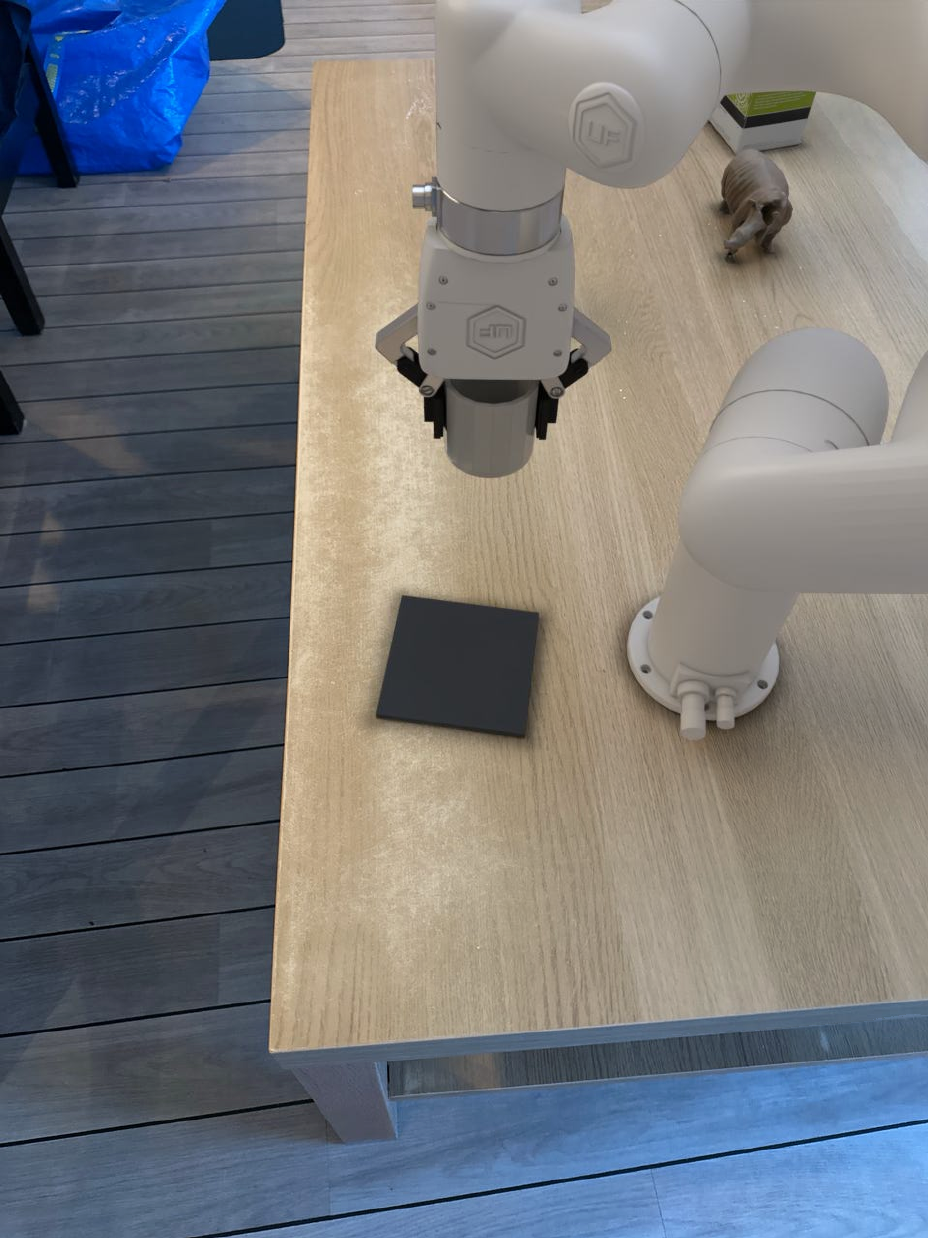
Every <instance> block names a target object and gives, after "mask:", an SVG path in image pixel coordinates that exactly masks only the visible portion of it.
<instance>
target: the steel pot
mask: <svg viewBox="0 0 928 1238" xmlns="http://www.w3.org/2000/svg"><path fill="white" fill-rule="evenodd" d="M539 387H540V380H483V379H445V380H444V381H443V408H444V432H443V444H444V445H443V446H444V452H445V455H446V457H447V459H448V460H449V462H450V463H451V464H452V465H453V466H454V467H456V469H458V470H459V471H460V472H463V473H465V474H467V475H469V476H473V477H476V478H483V479H499V478H503V477H507V476H510V475H513V474H515V473H516V472H519V471H520V470H521V469H523V468H524V467H525V466H526V465H527V464H528V462H529V461H530V459H531V457H532V455H533V452H534V445H535V439H536V417H537V407H538V397H539Z"/></svg>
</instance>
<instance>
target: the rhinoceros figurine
mask: <svg viewBox="0 0 928 1238" xmlns="http://www.w3.org/2000/svg"><path fill="white" fill-rule="evenodd" d="M720 183H721V185H720V186H721V193H720V194H721V198H722V200H721V201H720V203H719V204H718V206H717V211H718V212H719V213H721V214H726V213H729V214H732V217H731V221H730V224H731V225H732V226H731V227H730V228H731V229H730V234H729V239H727V238H724V239H723V246H724V247H723V249H724V250H727V253H726V254H725V256H723V257H722V259H724V260H725V261H726V262H727V263H728V264H736V263H737V260H736V259H735V257H734V255H735V254H737V252H738V250H739V249H741V248H743V247H745V246H746V245H747V243H748V242H749V241H750V240H751V239H754V241H755V244H756V245H757V246H761V247H763V248H765V249H763V252H765V253H772V254H774V253H775V247H774V245H773V240H774V239H775V237H776V236H777V234H779V233H780V232H781V231H782V228H783V227H784V226H786V225H787V224H788V223H789V222H790V220H791V218H792V215H793V211H794V208H793V205H792V203H791V202H790V199H789V195H790V191H789V190H790V185H789V183H788V181H787V178H786V176H785V174H784V172H783V170H782V169H781V168H780V167H779V166H778V164H777V163H775V162H774V161H773V160H772V159H771V158H770V157H768V156H767V155H766V154H765V153H763V152H761V151H758V150H756V149H750V148H749V149H746V150H744V151H742V152H740V153H739V154H735V155H734V156H733V157H732V158H731V160H729V162H728V164H727V165H726V166H725V168H724V170H723V174H722V177H721V181H720Z"/></svg>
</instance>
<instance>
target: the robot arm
mask: <svg viewBox="0 0 928 1238" xmlns="http://www.w3.org/2000/svg"><path fill="white" fill-rule="evenodd" d="M434 79H435V80H434V92H435V94H434V95H435V98H434V100H435V157H436V159H435V161H436V162H435V163H436V164H435V165H436V176H431V181H426V182H424V184H412V187H411V189H412V192H411V195H412V196H411V197H412V200H411V201H412V209H413V210H424V211H425V212H431V214H430V215H429V217H428V219H427V223H426V226H425V232H424V236H423V240H422V245H421V251H420V260H419V270H418V271H419V273H418V282H417V283H418V284H417V285H418V286H417V287H418V288H417V303H416V304H414V305H413V306H411V307H410V308H409V309H407V310H406V311H405V312H403V313H402V314H401V315H399V316H398V317H396V318H395V319H393V320H392V321H390V323H388V324H387V325H385V326H384V327H382V328H381V329H380V330H378V331H377V332H376V334H375V345H374V346H375V347H374V348H375V350H376V351H377V352H378V353H379V354H380V355H381V356H382V357H384V358H385V359H386V360H387V361H388V363H390V364H392V365H394V367H396V370H397V372H398V373H399V374H400V375H401V376H402V377H404V378H405V379H407V380H408V381H409V382H410V383H412V384H413V385H415V386H416V387H417V388H418V393H419V394H420V396H422V397H423V419H424V420H423V422H424V423H433V439H434V440H441V439H442V438H444V408H443V381H444V380H445V379H483V380H540V387H539V397H538V407H537V417H536V429H535V439H538V440H539V441H546V440H547V436H548V435H547V434H548V425H549V424H557V419H558V410H559V403H560V398H563V397H564V396H565V394H566V389H568V388H569V387H570V386H572V385H573V384H575V383H577V381H579V380H580V379H582V378H583V377H585V376H587V374H588V372H589V369H590V368H591V367H595V366H596V365H597V364H598V363H600V362H601V361H602V360H603V359H604V358H606V357H607V356H608V355H609V354H610V353H611V352H612V342H611V341H612V340H611V336H610V334H609V333H608V332H607V331H605V330H604V329H603V328H602V327H600V326H599V325H598V324H597V323H596V322H594V321H593V320H591V319H590V318H589V317H588V316H586V315H585V314H584V313H582V311H580V310H579V309H578V308H576V307H575V289H576V260H575V246H574V245H575V244H574V237H573V232H572V229H571V225H570V222H569V220H568V218H567V217H566V215H565V214H564V213H563V208H564V197H565V188H566V177H567V169H568V170H570V171H572V172H574V173H576V174H577V175H579V176H582V177H584V178H585V179H588V180H589V181H592V182H595V183H597V184H600V185H603V186H606V187H610V188H614V189H621V190H634V189H639V188H645V187H648V186H650V185H653V184H655V183H656V182H658V181H660V180H661V179H663V178H664V177H666V176H668V175H669V174H670V173H671V172H672V171H673V170H674V169H675V168H676V167H677V165H678V164H680V162H681V161H682V160H683V159H684V157H685V156H686V154H687V153H688V152H689V150H690V149H691V147H692V145H693V144H694V142H695V141H696V139H697V138H698V136H699V135H700V133H701V132H702V130H703V129H704V127H705V125H706V124H707V123H708V121H709V120H708V119H709V118H710V117H711V115H712V114H713V112H714V111H715V109H716V108H717V106H718V105H719V103H720V102H721V100H722V99H723V97H724V96H725V95H731V94H741V93H757V92H774V91H813V92H816V93H825V94H829V95H835V96H841V97H843V98H847V99H851V100H854V101H856V102H858V103H860V104H862V105H865V106H866V107H868V108H869V109H871V110H873V111H875V112H876V113H877V114H879V116H881V118H883V119H884V120H885V121H886V122H887V123H888V125H889V126H890V127H891V128H892V129H893V131H894V132H895V133H896V134H897V135H898V136H899V138H900V139H901V140H902V141H903V142H904V144H905V145H906V146H907V147H908V148H909V150H911V152H912V153H913V154H915V155H916V157H917V158H918V159H920V161H922V162H924V163H925V164H927V165H928V0H611V2H610V3H609V4H606V5H604V6H602V7H600V8H597V9H594V10H591V11H588V12H584V13H583V3H582V0H435V3H434ZM416 336H417V351H416V350H415V349H414V348H412V347H411V346H407V345H406V343H407V342H409V341H410V340H411V339H413V338H414V337H416ZM572 339H573V340H575V341H576V342H578V343H579V344H580V346H579V348H574V349H573V350H571V347H572ZM889 408H890V393H889V385H888V381H887V377H886V374H885V371H884V369H883V366H882V364H881V363H880V361H879V359H878V358H877V356H876V355H875V354H874V353H873V351H872V350H871V349H870V348H869V347H868V346H867V345H866V344H865V343H863V342H862V341H861V340H860V339H858V338H857V337H855V336H853V335H852V334H850V333H848V332H845V331H842V330H840V329H836V328H831V327H825V326H806V327H800V328H795V329H792V330H788V331H785V332H783V333H781V334H779V335H776V336H775V337H773V338H772V339H770V340H768V341H766V342H765V343H764V344H762V345H761V346H760V347H758V348H757V349H756V350H755V351H754V352H753V353H752V354H751V355H750V356H749V357H748V358H747V359H746V361H745V362H744V363H743V364H742V366H741V367H740V368H739V370H738V372H737V373H736V374H735V376H734V378H733V380H732V382H731V384H730V386H729V388H728V390H727V392H726V394H725V396H724V397H723V400H722V402H721V405H720V406H719V408H718V411H717V413H716V414H715V417H714V419H713V421H712V424H711V426H710V428H709V429H708V434H707V435H706V437H705V441H704V442H703V444H702V447H701V448H700V450H699V453H698V455H697V457H696V459H695V461H694V463H693V465H692V467H691V469H690V471H689V473H688V476H687V478H686V480H685V483H684V486H683V489H682V491H681V495H680V498H679V503H678V507H677V529H678V533H679V539H678V542H677V544H676V548H675V550H674V554H673V557H672V559H671V563H670V567H669V569H668V571H667V575H666V578H665V581H664V584H663V587H662V590H661V593H660V595H659V596H657V597H655V598H653V599H652V600H651V601H649V602H647V603H646V604H645V605H644V606H643V607H642V608H641V609H640V610H639V611H638V612H637V614H636V616H635V617H634V619H633V621H632V622H631V623H632V624H631V626H630V627H629V632H628V635H627V636H628V637H627V641H626V655H627V660H628V664H629V667H630V670H631V671H632V674H633V675H634V677H635V679H636V681H637V682H638V684H639V685H640V686H641V687H642V689H643V690H644V691H645V692H646V694H648V695H649V696H650V697H651V698H652V699H653V700H655V701H656V702H657V703H659V704H660V705H662V706H664V707H665V708H666V709H668V710H670V711H672V712H675V713H677V714H679V715H680V733H679V734H680V736H681V737H682V738H683V739H686V740H690V741H698V740H702V739H704V738H705V737H706V736H707V722H706V721H716V727H717V728H719V729H721V730H730V729H734V728H735V718H737V717H742V716H743V715H745V714H747V713H750V712H751V711H753V710H755V709H756V708H757V707H758V706H759V705H761V704H762V703H763V702H764V701H765V699H767V697H768V696H769V695H770V694H771V691H772V689H773V688H774V686H775V684H776V682H777V678H778V675H779V671H780V654H779V650H778V646H777V643H776V640H777V638H778V636H779V635H780V633H781V631H782V629H783V627H784V625H785V624H786V621H787V620H788V617H789V616H790V614H791V612H792V610H793V608H794V606H795V604H796V602H797V601H798V598H799V597H800V595H801V594H835V595H837V594H841V595H843V594H848V595H849V594H853V595H855V594H856V595H857V594H859V595H928V349H927V350H926V351H925V353H924V354H923V355H922V357H921V358H920V360H919V362H918V364H917V366H916V367H915V369H914V372H913V374H912V376H911V378H910V381H909V382H908V385H907V388H906V391H905V394H904V396H903V399H902V402H901V405H900V409H899V411H898V414H897V417H896V421H895V424H894V427H893V430H892V434H891V436H890V439H889V442H887V443H882V440H883V437H884V433H885V430H886V426H887V422H888V416H889V410H890V409H889Z"/></svg>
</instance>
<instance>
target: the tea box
mask: <svg viewBox="0 0 928 1238" xmlns="http://www.w3.org/2000/svg"><path fill="white" fill-rule="evenodd" d="M816 94H817V92H813V91H774V92H757V93H741V94H731V95H725V96H724V97H723V99H722V100H721V102H720V103H719V105H718V106H717V108H716V109H715V111H714V112H713V114H712V115H711V117H710V118H709V119H708V121H709V122H710V124H711V125H712V126H713V127H714V129H715V131H716V132H718V134H719V135H720V136H721V137H722V139H723V140H724V141H725V143H726V144H727V145H728V146H729V148H730V149H731V150H732V151H733V153H734V154H735V155H737V154H739V153H740V152H742V151H744V150H746V149H749V148H750V149H756V150H758V151H759V152H761V151H767V150H774V149H780V148H785V147H791V146H796V145H800V143H801V140H802V137H803V135H804V132H805V128H806V125H807V122H808V119H809V116H810V113H811V109H812V107H813V103H814V100H815V97H816Z"/></svg>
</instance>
